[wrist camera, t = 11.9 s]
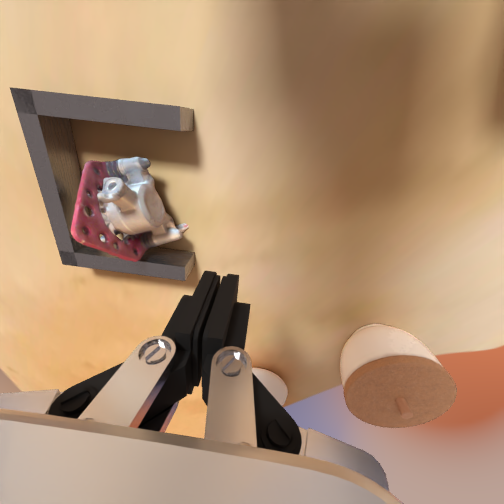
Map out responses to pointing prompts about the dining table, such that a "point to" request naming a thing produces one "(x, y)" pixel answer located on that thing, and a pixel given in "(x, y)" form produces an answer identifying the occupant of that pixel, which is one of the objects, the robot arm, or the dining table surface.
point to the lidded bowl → (393, 378)
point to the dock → (69, 175)
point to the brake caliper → (122, 209)
